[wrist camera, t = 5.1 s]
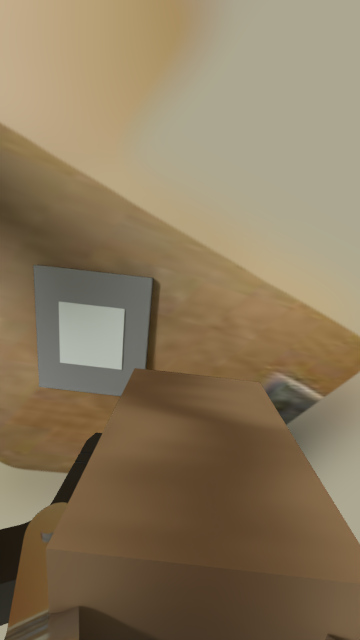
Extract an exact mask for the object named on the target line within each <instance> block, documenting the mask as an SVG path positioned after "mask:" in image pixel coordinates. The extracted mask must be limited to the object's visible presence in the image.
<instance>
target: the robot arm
mask: <svg viewBox="0 0 360 640" xmlns="http://www.w3.org/2000/svg"><path fill="white" fill-rule="evenodd" d="M101 435H102V433H95V434H94V435H93V436H92V437H91V438H89V439H88V440H87V441H86V443H85V445H84V446H83V448H82V450H81V452H80V454H79V455H78V457H77V459H76V461H75V463H74V464H73V466H72V468H71V470H70V471H69V473H68V475H67V477H66V479H65V480H64V482H63V484H62V486H61V488H60V489H59V491H58V493H57V495H56V496H55V498H54V500H53V502H52V503H51V504H50V505H49V506H48V507H46V508H44V509H43V510H41V511H40V512H39V513H38V514H37V515H36V516H35V517H34V518H33V519H32V520H31V521H29V522H27V523H25V524H21V525H18V526H14V527H10V528H5V529H1V530H0V626H1V625H3V624H6V623H8V628H7V633H6V636H5V639H4V640H79V606H77V607H73V608H70V609H68V610H66V611H63V612H58V613H49V600H48V581H47V561H46V547H47V545H48V543H49V541H50V539H51V537H52V535H53V533H54V531H55V529H56V527H57V525H58V523H59V521H60V519H61V517H62V515H63V513H64V511H65V508H66V506H67V504H68V502H69V500H70V498H71V496H72V494H73V492H74V490H75V488H76V486H77V484H78V482H79V480H80V478H81V476H82V474H83V472H84V470H85V468H86V466H87V464H88V462H89V460H90V458H91V456H92V454H93V452H94V450H95V448H96V446H97V444H98V442H99V439H100V437H101ZM325 640H337V639H336V638H334V637H332V636H331V635H329V634H327V637H326V639H325Z"/></svg>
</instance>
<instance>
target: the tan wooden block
mask: <svg viewBox="0 0 360 640" xmlns="http://www.w3.org/2000/svg"><path fill="white" fill-rule="evenodd" d="M46 561H47V581H48V600H49V613H58V612H63V611H66V610H68V609H70V608H73V607H77V606H79V640H325V639H326V637H327V634H329V635H331V636H332V637H334V638H336V639H337V640H360V544H359V542H358V541H357V539H356V537H355V536H354V534H353V533H352V531H351V529H350V528H349V526H348V525H347V523H346V521H345V520H344V518H343V517H342V515H341V513H340V512H339V510H338V508H337V507H336V505H335V504H334V502H333V500H332V499H331V497H330V496H329V494H328V492H327V491H326V489H325V487H324V486H323V484H322V483H321V481H320V479H319V478H318V476H317V475H316V473H315V471H314V470H313V468H312V467H311V465H310V463H309V462H308V460H307V458H306V457H305V455H304V453H303V452H302V450H301V449H300V447H299V445H298V444H297V442H296V440H295V439H294V437H293V436H292V434H291V432H290V431H289V429H288V428H287V426H286V424H285V423H284V421H283V419H282V418H281V416H280V415H279V413H278V411H277V410H276V408H275V407H274V405H273V403H272V402H271V400H270V398H269V397H268V395H267V394H266V392H265V390H264V389H263V387H262V386H261V384H260V382H253V381H244V380H236V379H227V378H218V377H209V376H200V375H191V374H182V373H173V372H165V371H156V370H147V369H138V368H134V370H133V373H132V375H131V377H130V379H129V381H128V383H127V385H126V387H125V389H124V391H123V393H122V395H121V397H120V399H119V401H118V403H117V405H116V407H115V409H114V411H113V413H112V415H111V417H110V419H109V421H108V423H107V425H106V427H105V429H104V431H103V433H102V435H101V437H100V439H99V442H98V444H97V446H96V448H95V450H94V452H93V454H92V456H91V458H90V460H89V462H88V464H87V466H86V468H85V470H84V472H83V474H82V476H81V478H80V480H79V482H78V484H77V486H76V488H75V490H74V492H73V494H72V496H71V498H70V500H69V502H68V504H67V506H66V508H65V511H64V513H63V515H62V517H61V519H60V521H59V523H58V525H57V527H56V529H55V531H54V533H53V535H52V537H51V539H50V541H49V543H48V545H47V547H46Z"/></svg>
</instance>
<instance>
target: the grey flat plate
mask: <svg viewBox="0 0 360 640" xmlns="http://www.w3.org/2000/svg"><path fill="white" fill-rule="evenodd" d="M33 266H34V287H35V308H36V329H37V349H38V370H39V387H46V388H54V389H63V390H72V391H80V392H89V393H98V394H106V395H115V396H121V395H122V393H123V391H124V389H125V387H126V385H127V383H128V381H129V379H130V377H131V375H132V373H133V370H134V368H138V369H146V364H147V351H148V339H149V326H150V314H151V301H152V289H153V278H149V277H140V276H132V275H123V274H114V273H105V272H97V271H88V270H79V269H70V268H61V267H53V266H44V265H33Z"/></svg>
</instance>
